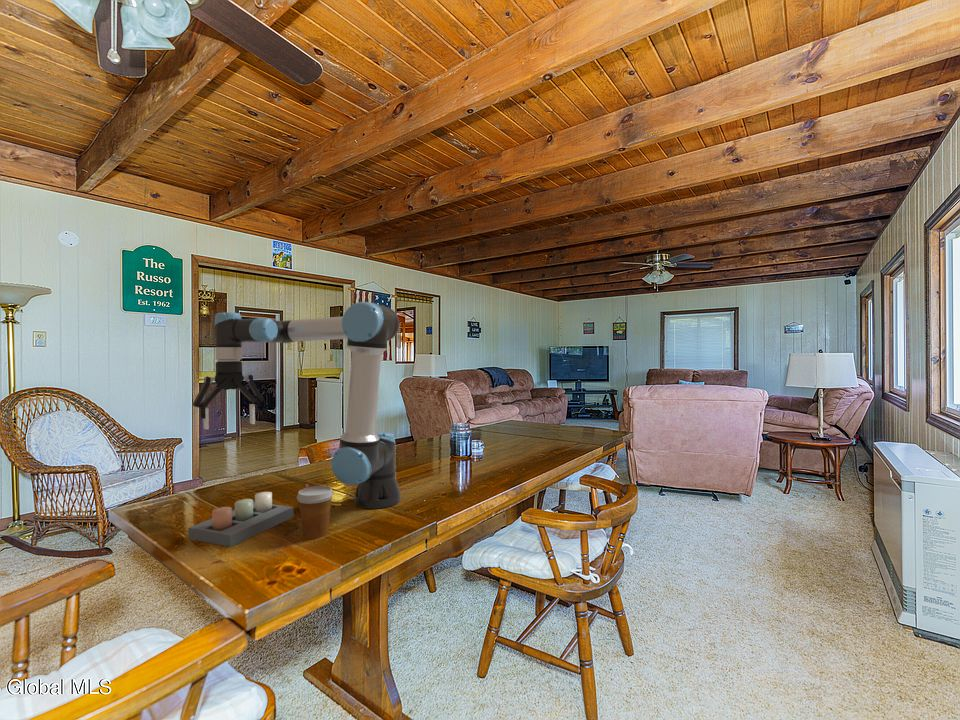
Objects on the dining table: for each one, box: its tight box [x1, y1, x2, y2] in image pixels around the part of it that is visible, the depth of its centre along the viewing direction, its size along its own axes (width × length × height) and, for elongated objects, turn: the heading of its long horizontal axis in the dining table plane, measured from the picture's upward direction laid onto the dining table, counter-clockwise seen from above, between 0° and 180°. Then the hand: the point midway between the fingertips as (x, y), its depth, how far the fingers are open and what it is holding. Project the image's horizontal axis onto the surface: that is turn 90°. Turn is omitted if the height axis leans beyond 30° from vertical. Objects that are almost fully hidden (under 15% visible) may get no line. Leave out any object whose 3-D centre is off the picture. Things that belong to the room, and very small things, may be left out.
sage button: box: [234, 498, 254, 522], centre depth 127 cm, size 5×5×5 cm
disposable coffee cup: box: [296, 485, 335, 540], centre depth 122 cm, size 10×10×12 cm
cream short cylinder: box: [254, 491, 273, 513], centre depth 134 cm, size 5×5×5 cm
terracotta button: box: [211, 506, 233, 531], centre depth 121 cm, size 5×5×5 cm
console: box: [187, 501, 294, 548], centre depth 127 cm, size 15×22×3 cm
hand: (230, 426), depth 145 cm, fingers open, 13 cm apart
